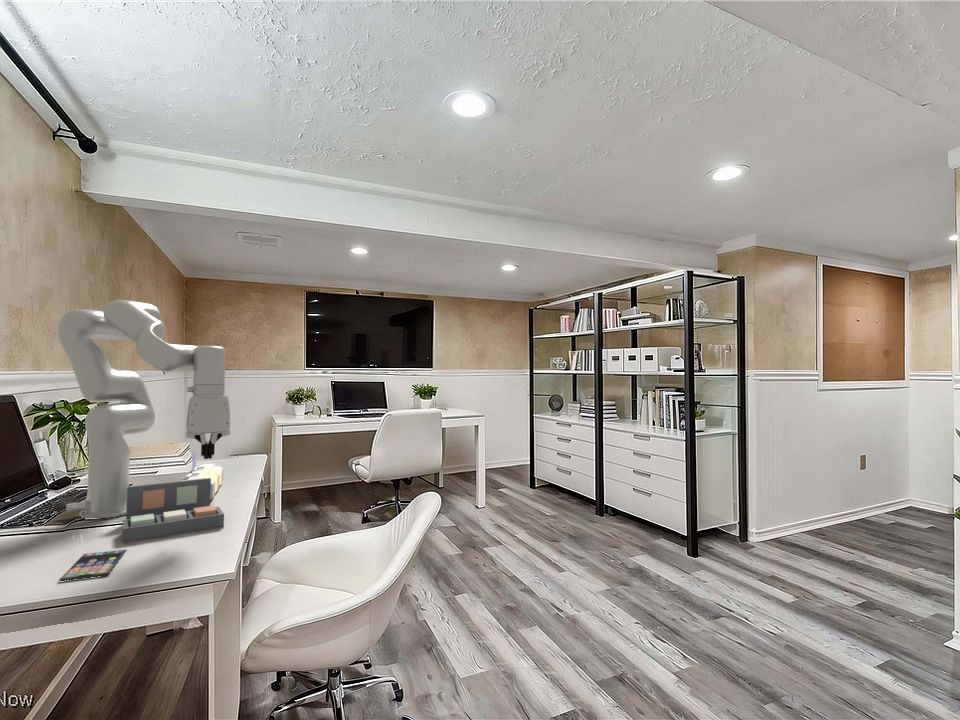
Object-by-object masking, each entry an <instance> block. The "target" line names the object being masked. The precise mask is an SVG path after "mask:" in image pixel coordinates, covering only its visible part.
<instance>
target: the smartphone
mask: <svg viewBox="0 0 960 720" xmlns="http://www.w3.org/2000/svg"><path fill="white" fill-rule="evenodd" d="M126 552H127V549H119V550H118V549H117V550H110V551H109V550H108V551H101V552H100V551H99V552H98V551H97V552H89V553H84V554H82V555H81V556H80V558H78V559H77V560H76V562H75V563H73V564H72V566H71V567H70V568H69V569H67V571H65V573H64V574H63V575H62V576H61V577H60V578H59V579H58V580H59V581H65V580H66V581H67V580H74V579H83V578H91V577H98V576H107V577H109V576H110V575H111V573H112V572H113V571H114V569H115V568H116V566H117V565H118V564H119V560H121V559H122V557H124V555H125V553H126ZM116 564H117V565H116ZM115 565H116V566H115ZM114 567H115V568H114ZM113 568H114V569H113ZM112 570H113V571H112ZM111 571H112V572H111ZM110 572H111V573H110ZM109 574H110V575H109ZM108 575H109V576H108ZM91 579H92V578H91ZM83 580H84V579H83ZM67 582H68V581H67Z"/></svg>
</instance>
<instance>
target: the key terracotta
mask: <svg viewBox="0 0 960 720" xmlns="http://www.w3.org/2000/svg"><path fill="white" fill-rule="evenodd" d="M215 507H216V506H214V505H210V506H205V507H198V508H194V514H193V517H200V516H207V515H214V514H216V508H215Z"/></svg>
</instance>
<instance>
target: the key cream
mask: <svg viewBox="0 0 960 720" xmlns="http://www.w3.org/2000/svg"><path fill="white" fill-rule="evenodd" d="M186 516H187V514H186V512H185V510H176V511H169V512H163V522H167V521H173V520H180V519H186Z"/></svg>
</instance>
